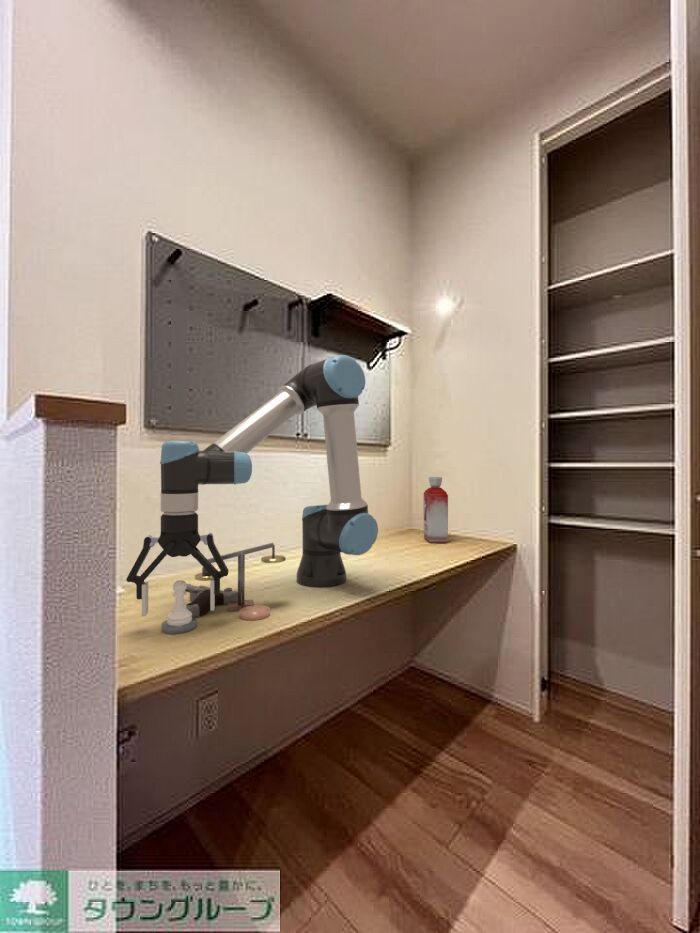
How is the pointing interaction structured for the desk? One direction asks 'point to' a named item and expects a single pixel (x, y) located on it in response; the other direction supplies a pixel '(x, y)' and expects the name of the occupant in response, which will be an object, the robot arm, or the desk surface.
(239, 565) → the balance
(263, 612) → the pink disc
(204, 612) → the handgun
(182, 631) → the dish slate
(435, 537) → the bottle
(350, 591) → the desk surface
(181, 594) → the chess pawn
